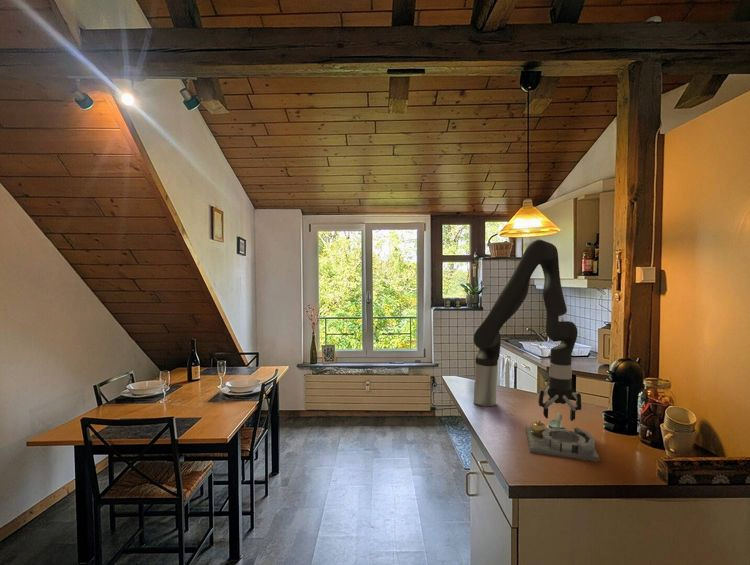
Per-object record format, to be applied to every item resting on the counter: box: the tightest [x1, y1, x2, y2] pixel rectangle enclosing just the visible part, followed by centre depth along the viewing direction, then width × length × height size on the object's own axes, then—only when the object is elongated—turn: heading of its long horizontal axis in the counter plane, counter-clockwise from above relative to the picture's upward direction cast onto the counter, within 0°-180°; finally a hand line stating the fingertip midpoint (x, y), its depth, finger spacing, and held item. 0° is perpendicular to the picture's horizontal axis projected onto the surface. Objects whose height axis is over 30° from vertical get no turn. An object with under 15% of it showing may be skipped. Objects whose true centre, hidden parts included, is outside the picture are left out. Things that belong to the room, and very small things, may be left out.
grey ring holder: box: [525, 420, 600, 463], centre depth 138 cm, size 20×18×6 cm
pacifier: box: [545, 412, 567, 430], centre depth 151 cm, size 7×6×6 cm
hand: (559, 419), depth 151 cm, fingers open, 8 cm apart
